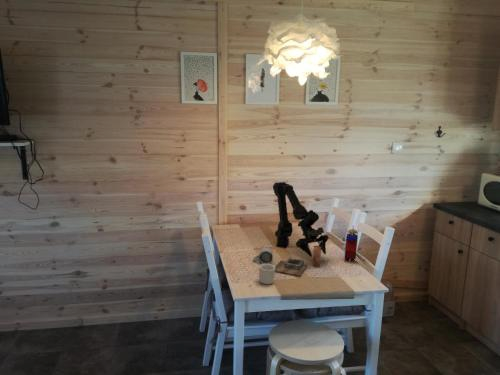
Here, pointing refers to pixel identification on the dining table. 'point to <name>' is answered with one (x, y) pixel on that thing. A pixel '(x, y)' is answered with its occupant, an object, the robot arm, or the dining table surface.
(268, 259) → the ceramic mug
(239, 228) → the dining table surface
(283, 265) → the socket board
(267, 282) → the cup
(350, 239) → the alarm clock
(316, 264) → the peg
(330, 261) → the dining table surface
